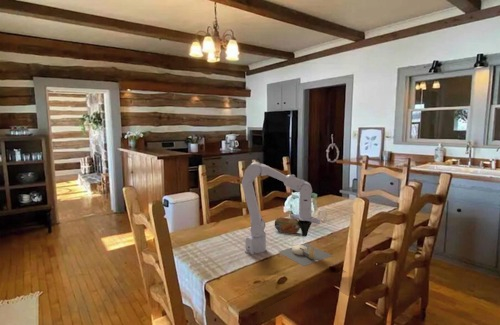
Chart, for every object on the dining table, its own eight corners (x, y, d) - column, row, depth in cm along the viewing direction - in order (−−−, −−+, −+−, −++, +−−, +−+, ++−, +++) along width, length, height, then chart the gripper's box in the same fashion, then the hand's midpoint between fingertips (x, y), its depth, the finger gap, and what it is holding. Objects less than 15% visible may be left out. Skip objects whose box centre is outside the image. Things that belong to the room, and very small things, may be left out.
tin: (274, 230, 177) (274, 216, 176) (276, 229, 180) (276, 215, 179) (299, 234, 170) (299, 220, 169) (300, 232, 173) (300, 218, 172)
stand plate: (304, 269, 129) (304, 265, 129) (277, 254, 144) (277, 251, 144) (333, 258, 139) (333, 255, 138) (305, 246, 154) (305, 242, 154)
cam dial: (289, 250, 144) (289, 241, 143) (300, 247, 147) (300, 238, 147) (307, 261, 133) (307, 251, 132) (319, 257, 136) (319, 247, 135)
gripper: (287, 207, 142) (287, 234, 144) (315, 212, 134) (315, 241, 135) (294, 204, 148) (294, 230, 150) (322, 208, 139) (321, 237, 141)
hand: (304, 235), depth 143 cm, fingers closed
